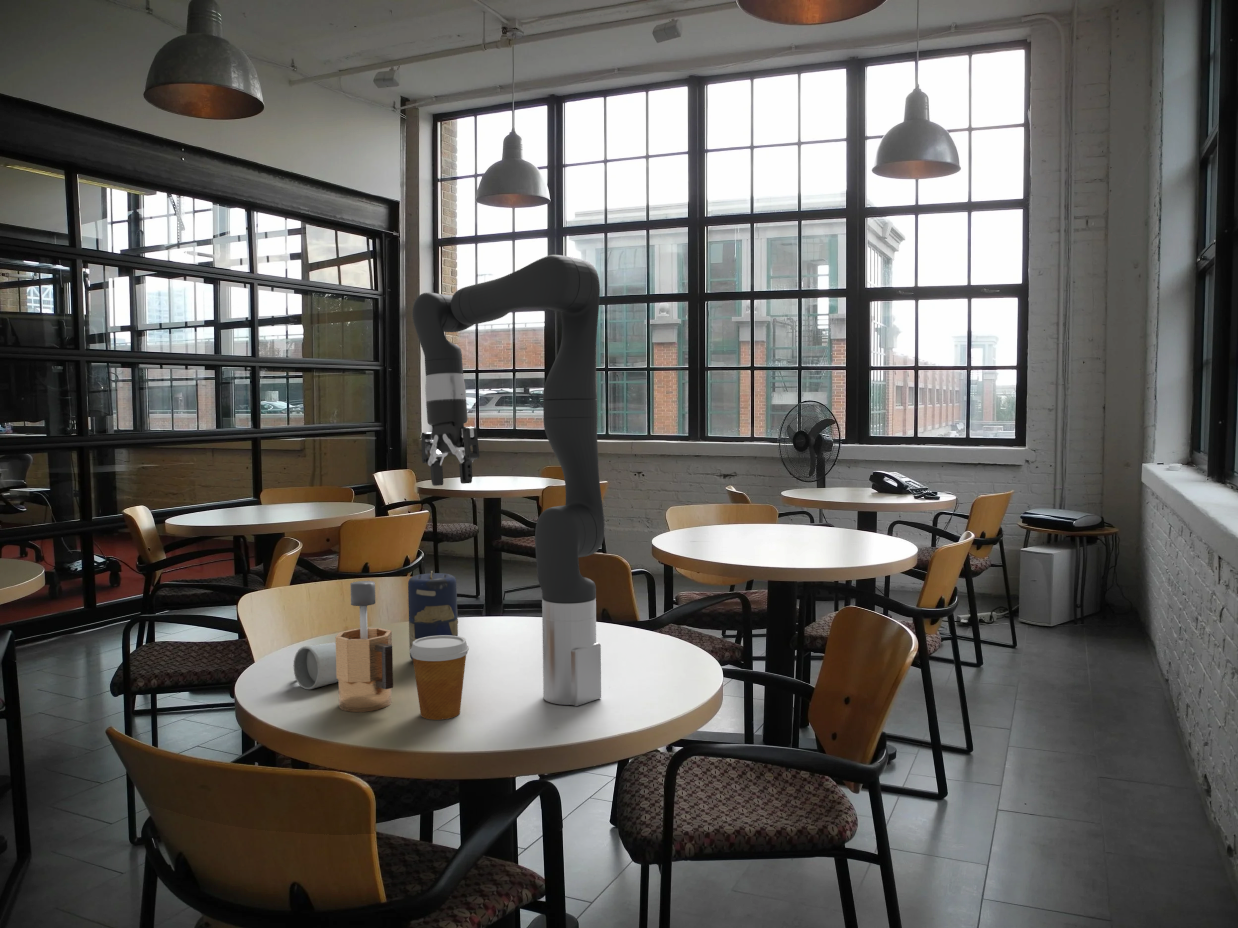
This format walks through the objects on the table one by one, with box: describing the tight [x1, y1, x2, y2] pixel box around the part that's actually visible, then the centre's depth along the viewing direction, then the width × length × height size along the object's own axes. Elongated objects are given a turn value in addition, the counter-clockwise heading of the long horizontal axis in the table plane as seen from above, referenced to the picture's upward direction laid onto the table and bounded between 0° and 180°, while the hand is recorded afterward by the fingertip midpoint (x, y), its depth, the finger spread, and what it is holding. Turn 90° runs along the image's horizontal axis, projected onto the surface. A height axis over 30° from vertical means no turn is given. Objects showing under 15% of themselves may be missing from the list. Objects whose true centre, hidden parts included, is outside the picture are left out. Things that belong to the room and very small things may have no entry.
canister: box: [407, 570, 459, 661], centre depth 187 cm, size 10×10×18 cm
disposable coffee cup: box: [409, 635, 470, 721], centre depth 154 cm, size 10×10×12 cm
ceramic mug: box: [293, 642, 338, 690], centre depth 172 cm, size 11×8×8 cm
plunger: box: [350, 580, 376, 639], centre depth 159 cm, size 4×4×15 cm
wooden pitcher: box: [335, 627, 394, 713], centre depth 158 cm, size 11×9×12 cm
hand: (451, 484), depth 178 cm, fingers open, 8 cm apart
